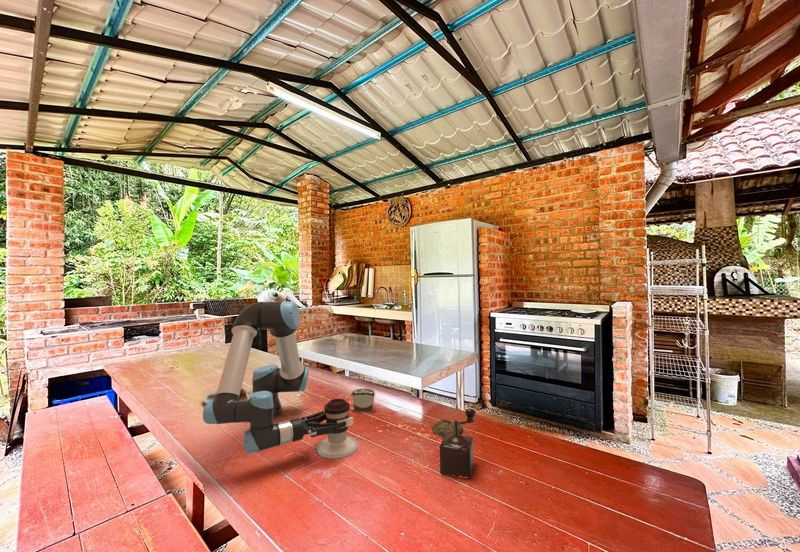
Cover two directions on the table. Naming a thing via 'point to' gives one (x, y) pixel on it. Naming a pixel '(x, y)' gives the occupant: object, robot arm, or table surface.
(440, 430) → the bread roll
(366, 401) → the food container
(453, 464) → the manual coffee grinder
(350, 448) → the saucer
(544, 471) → the table surface
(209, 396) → the food on plate
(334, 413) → the coffee cup
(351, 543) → the table surface
